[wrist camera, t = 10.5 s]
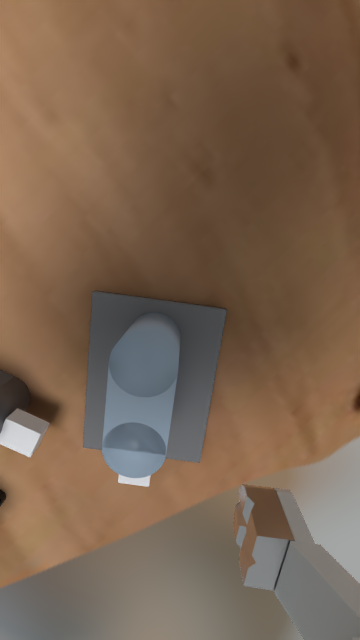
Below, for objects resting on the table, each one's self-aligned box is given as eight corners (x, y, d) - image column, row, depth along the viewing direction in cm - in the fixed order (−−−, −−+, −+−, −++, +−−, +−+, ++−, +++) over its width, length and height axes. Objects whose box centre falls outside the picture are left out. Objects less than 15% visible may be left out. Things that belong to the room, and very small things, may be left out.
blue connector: (131, 308, 18) (111, 327, 13) (183, 316, 18) (183, 337, 13) (118, 448, 20) (97, 507, 15) (163, 454, 20) (157, 515, 15)
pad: (95, 290, 18) (92, 291, 18) (225, 308, 18) (226, 310, 18) (85, 442, 21) (82, 447, 20) (199, 457, 21) (199, 462, 20)
